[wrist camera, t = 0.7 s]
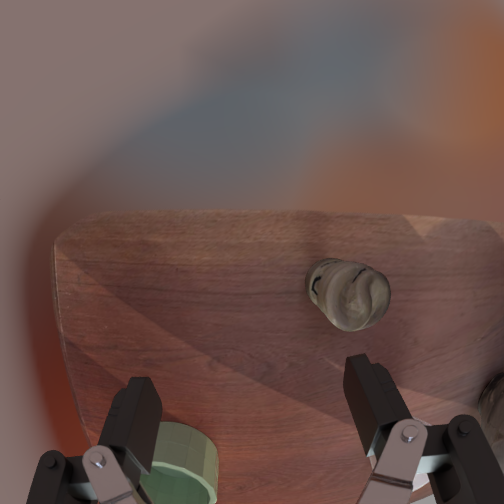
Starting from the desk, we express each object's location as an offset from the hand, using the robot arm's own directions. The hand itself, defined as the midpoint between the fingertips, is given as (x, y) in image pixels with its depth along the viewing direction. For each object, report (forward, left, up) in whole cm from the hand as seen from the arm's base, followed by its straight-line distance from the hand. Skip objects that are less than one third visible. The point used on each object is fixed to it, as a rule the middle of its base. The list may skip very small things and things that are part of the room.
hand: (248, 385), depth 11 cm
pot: (+18, -21, -24) cm, 36 cm away
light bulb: (+3, +8, -24) cm, 26 cm away
